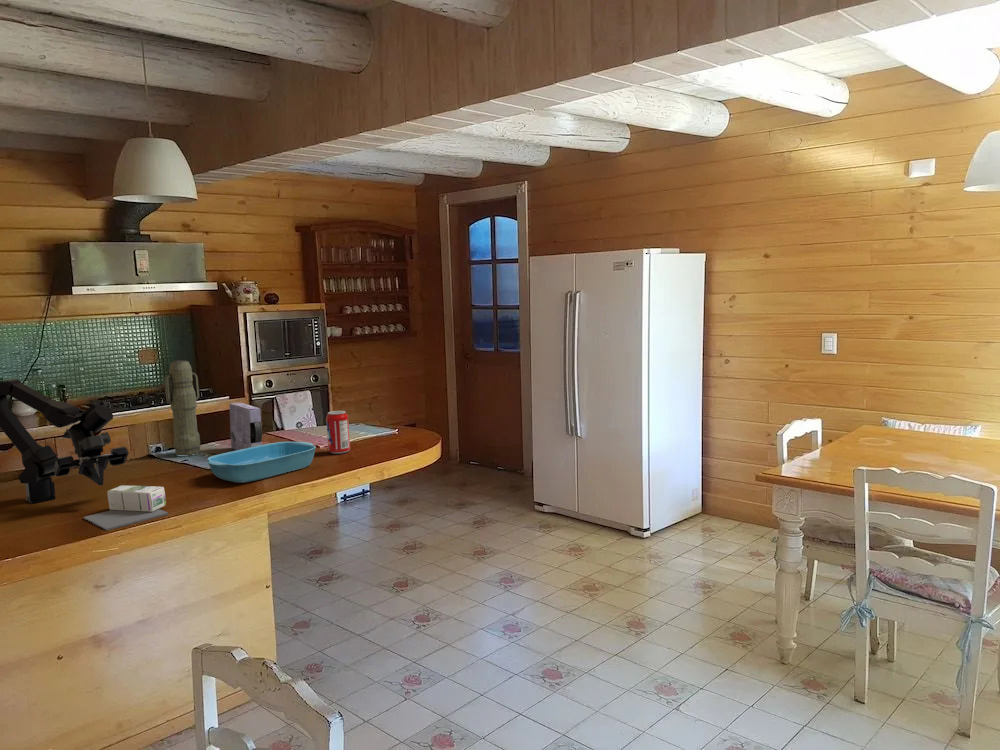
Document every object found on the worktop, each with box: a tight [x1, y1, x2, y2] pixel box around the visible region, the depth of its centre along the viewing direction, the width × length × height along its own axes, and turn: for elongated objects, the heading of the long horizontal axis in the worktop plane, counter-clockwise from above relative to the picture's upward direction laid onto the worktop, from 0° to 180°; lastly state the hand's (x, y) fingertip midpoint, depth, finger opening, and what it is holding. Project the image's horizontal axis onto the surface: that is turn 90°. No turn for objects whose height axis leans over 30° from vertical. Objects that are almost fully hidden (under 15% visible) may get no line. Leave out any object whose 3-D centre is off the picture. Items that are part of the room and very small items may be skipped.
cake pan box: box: [228, 402, 263, 451], centre depth 274 cm, size 19×5×18 cm, turn 42°
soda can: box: [325, 410, 351, 455], centre depth 267 cm, size 8×8×15 cm
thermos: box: [163, 359, 201, 455], centre depth 272 cm, size 9×12×35 cm
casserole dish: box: [206, 441, 317, 484], centre depth 244 cm, size 37×22×7 cm, turn 142°
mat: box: [83, 508, 169, 531], centre depth 201 cm, size 16×16×1 cm
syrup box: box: [107, 484, 167, 512], centre depth 206 cm, size 6×6×14 cm
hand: (101, 484), depth 209 cm, fingers closed
